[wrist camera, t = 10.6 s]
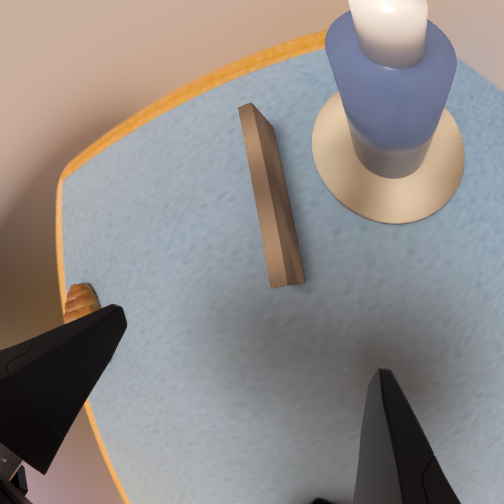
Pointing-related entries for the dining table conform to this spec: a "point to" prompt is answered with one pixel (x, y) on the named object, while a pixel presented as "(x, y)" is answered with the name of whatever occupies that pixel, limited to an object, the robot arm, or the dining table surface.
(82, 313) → the pastry
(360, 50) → the soy bottle
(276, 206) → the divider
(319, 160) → the disc
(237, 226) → the dining table surface
